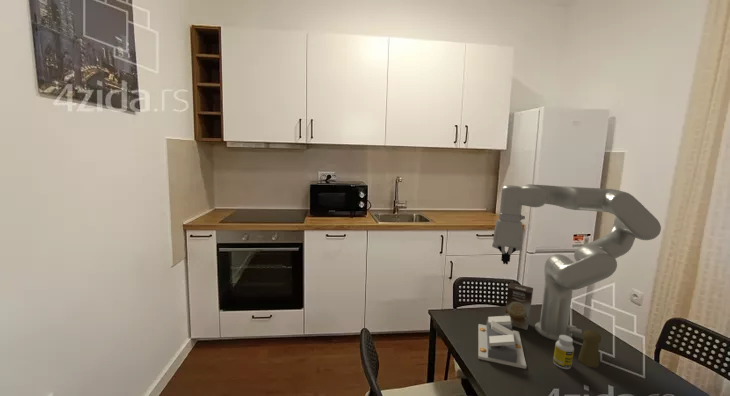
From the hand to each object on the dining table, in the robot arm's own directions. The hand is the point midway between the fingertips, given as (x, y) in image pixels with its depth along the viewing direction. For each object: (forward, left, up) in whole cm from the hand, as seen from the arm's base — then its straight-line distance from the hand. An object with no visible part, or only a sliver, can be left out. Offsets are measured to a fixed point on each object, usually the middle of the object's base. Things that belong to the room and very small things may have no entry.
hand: (505, 263), depth 131 cm
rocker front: (0, +21, -22) cm, 30 cm away
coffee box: (-7, -5, -27) cm, 29 cm away
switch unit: (0, +14, -27) cm, 31 cm away
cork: (-28, +13, -27) cm, 41 cm away
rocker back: (0, +7, -22) cm, 23 cm away
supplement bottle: (-19, +18, -27) cm, 38 cm away
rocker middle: (0, +14, -22) cm, 26 cm away
